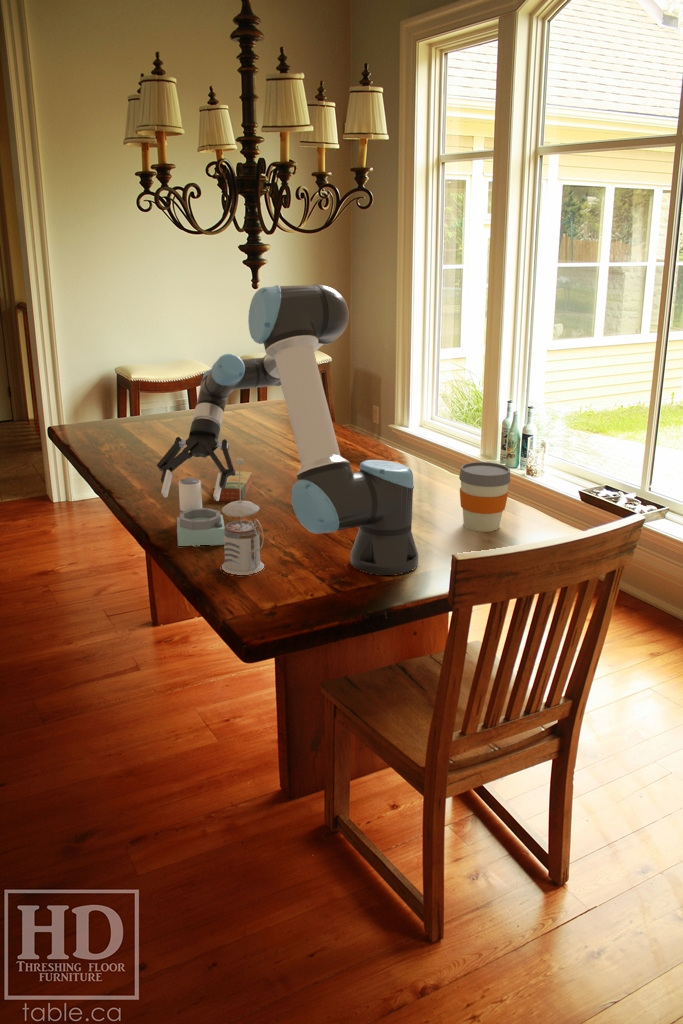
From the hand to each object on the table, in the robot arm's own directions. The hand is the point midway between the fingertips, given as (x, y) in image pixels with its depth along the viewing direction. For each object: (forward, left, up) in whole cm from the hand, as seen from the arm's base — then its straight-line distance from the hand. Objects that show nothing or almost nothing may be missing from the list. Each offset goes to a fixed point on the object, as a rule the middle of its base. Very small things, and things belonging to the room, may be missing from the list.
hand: (189, 496), depth 211 cm
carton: (+23, -12, -7) cm, 27 cm away
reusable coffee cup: (-14, -72, -7) cm, 74 cm away
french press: (-32, -11, -7) cm, 35 cm away
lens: (-1, 0, -7) cm, 7 cm away
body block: (-12, -2, -7) cm, 14 cm away
